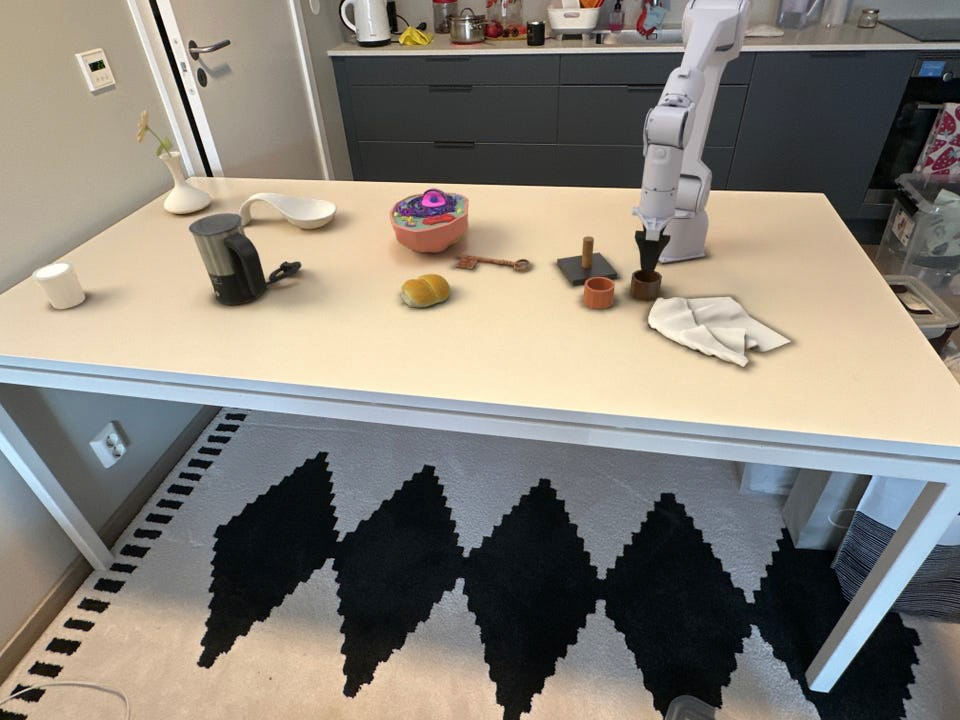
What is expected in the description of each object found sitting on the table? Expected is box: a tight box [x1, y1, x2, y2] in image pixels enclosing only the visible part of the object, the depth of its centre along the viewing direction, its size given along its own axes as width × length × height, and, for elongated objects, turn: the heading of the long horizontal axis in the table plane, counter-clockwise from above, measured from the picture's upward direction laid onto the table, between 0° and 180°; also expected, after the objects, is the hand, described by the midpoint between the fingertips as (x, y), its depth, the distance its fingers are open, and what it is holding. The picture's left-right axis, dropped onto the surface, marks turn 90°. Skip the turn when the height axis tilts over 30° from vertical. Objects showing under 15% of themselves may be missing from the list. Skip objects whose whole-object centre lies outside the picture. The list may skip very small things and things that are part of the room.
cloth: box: [647, 296, 791, 368], centre depth 96 cm, size 20×22×2 cm
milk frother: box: [188, 212, 303, 306], centre depth 111 cm, size 14×16×15 cm
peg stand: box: [556, 235, 618, 287], centre depth 112 cm, size 9×9×7 cm
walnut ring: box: [629, 269, 663, 302], centre depth 106 cm, size 5×5×4 cm
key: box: [455, 254, 531, 272], centre depth 117 cm, size 6×1×15 cm
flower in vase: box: [136, 109, 212, 215], centre depth 141 cm, size 13×11×25 cm
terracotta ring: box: [582, 277, 616, 310], centre depth 104 cm, size 5×5×4 cm
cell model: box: [388, 187, 470, 254], centre depth 123 cm, size 17×20×11 cm
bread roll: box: [400, 273, 451, 308], centre depth 108 cm, size 8×9×4 cm
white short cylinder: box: [31, 261, 86, 310], centre depth 112 cm, size 7×7×7 cm
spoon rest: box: [238, 192, 338, 230], centre depth 137 cm, size 24×12×7 cm, turn 83°
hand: (649, 260), depth 102 cm, fingers open, 7 cm apart
